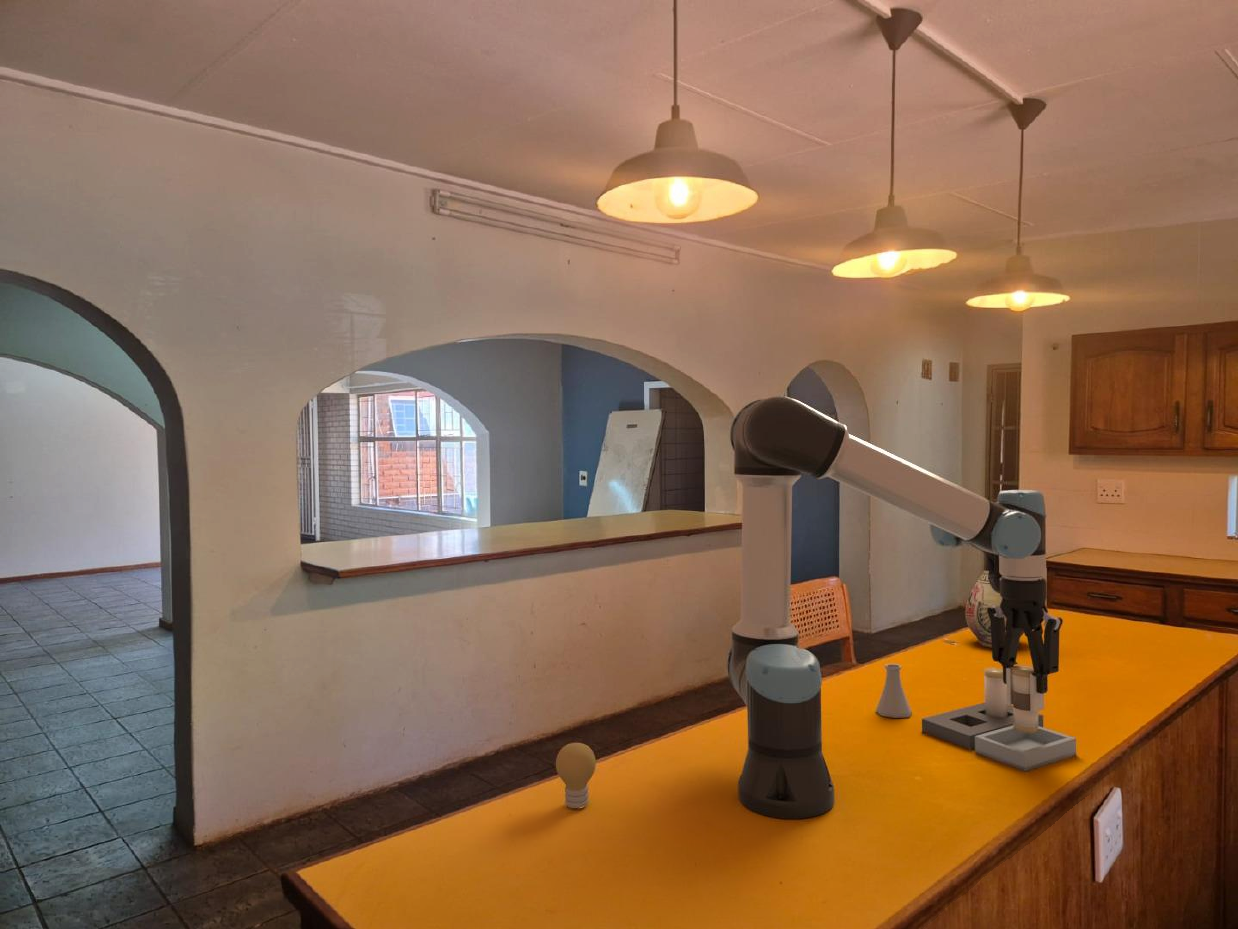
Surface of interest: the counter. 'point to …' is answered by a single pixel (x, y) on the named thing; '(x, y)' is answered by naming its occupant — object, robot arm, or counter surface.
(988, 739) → the parts tray
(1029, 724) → the cylinder
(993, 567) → the ceramic jug
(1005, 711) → the cylinder
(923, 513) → the robot arm
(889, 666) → the flask
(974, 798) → the counter surface
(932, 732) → the block
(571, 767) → the light bulb
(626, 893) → the counter surface
